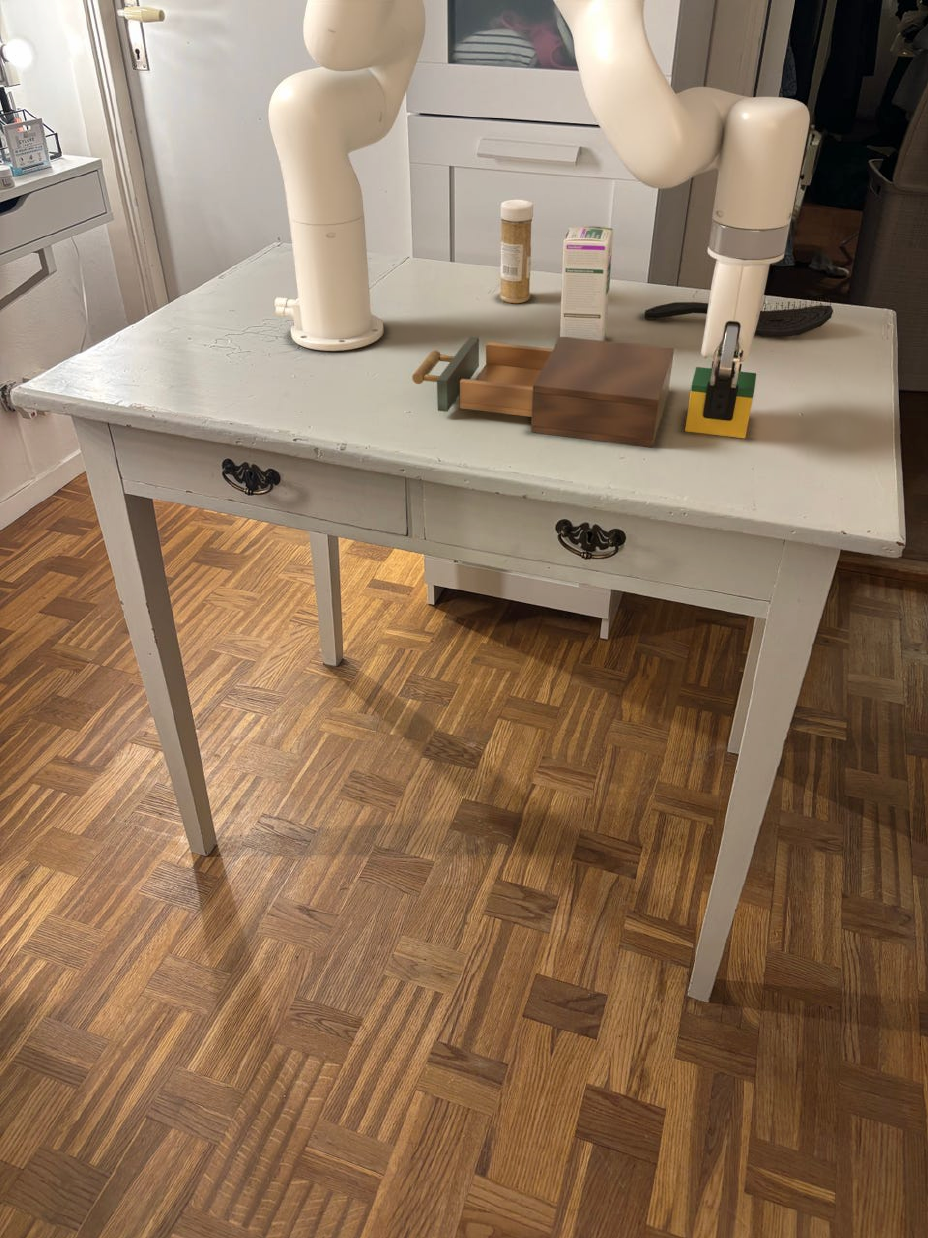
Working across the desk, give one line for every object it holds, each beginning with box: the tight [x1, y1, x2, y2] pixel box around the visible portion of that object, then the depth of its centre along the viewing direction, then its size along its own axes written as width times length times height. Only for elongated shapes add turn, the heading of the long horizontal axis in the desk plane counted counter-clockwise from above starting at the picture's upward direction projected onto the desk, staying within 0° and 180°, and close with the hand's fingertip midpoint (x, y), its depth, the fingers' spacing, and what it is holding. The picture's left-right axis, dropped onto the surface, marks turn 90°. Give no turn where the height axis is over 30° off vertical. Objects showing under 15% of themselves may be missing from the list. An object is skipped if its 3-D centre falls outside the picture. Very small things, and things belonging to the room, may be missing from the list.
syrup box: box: [559, 225, 614, 341], centre depth 121 cm, size 6×6×14 cm
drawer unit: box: [530, 336, 675, 448], centre depth 108 cm, size 14×15×6 cm
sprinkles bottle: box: [499, 199, 534, 304], centre depth 136 cm, size 5×5×14 cm
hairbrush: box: [644, 297, 834, 339], centre depth 130 cm, size 8×4×25 cm
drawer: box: [411, 335, 554, 418], centre depth 111 cm, size 17×13×4 cm
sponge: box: [684, 366, 757, 439], centre depth 105 cm, size 7×5×6 cm
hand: (719, 405), depth 105 cm, fingers closed on sponge, 5 cm apart
